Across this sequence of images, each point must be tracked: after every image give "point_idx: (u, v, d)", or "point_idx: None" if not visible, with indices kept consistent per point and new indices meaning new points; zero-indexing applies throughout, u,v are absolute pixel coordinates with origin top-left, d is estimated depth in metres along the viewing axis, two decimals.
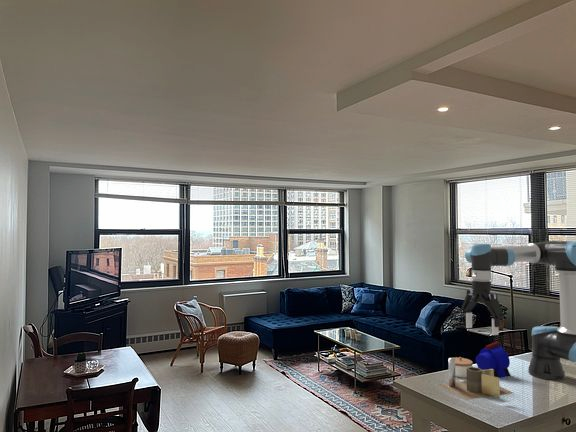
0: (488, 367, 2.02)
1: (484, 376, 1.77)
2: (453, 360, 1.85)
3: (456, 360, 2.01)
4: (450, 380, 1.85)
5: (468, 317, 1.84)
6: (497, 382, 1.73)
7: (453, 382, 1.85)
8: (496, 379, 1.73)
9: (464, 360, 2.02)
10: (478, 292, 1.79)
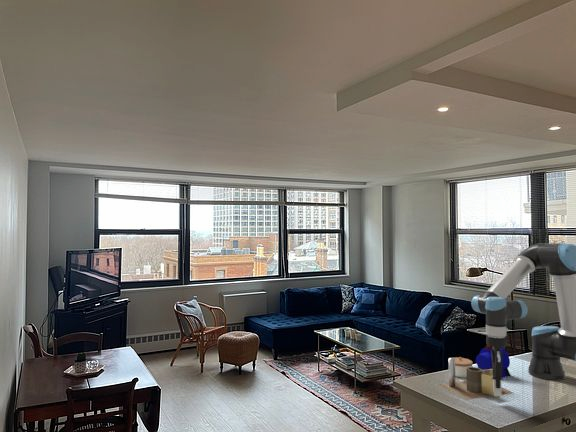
0: (488, 367, 2.02)
1: (484, 376, 1.77)
2: (453, 360, 1.85)
3: (456, 360, 2.01)
4: (450, 380, 1.85)
5: None
6: None
7: (453, 382, 1.85)
8: None
9: (464, 360, 2.02)
10: None
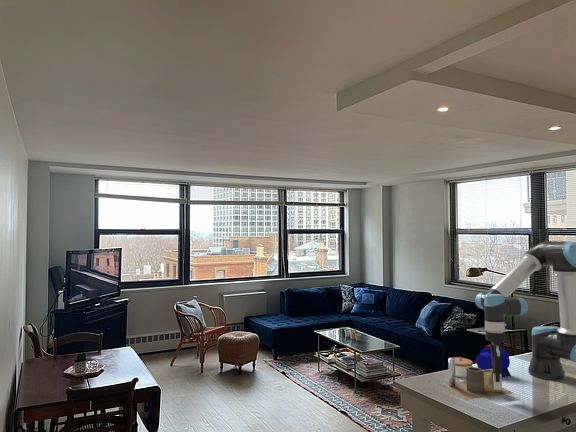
0: (488, 367, 2.02)
1: (487, 374, 1.79)
2: (453, 360, 1.85)
3: (456, 360, 2.01)
4: (450, 380, 1.85)
5: None
6: None
7: (453, 382, 1.85)
8: None
9: (464, 360, 2.02)
10: None
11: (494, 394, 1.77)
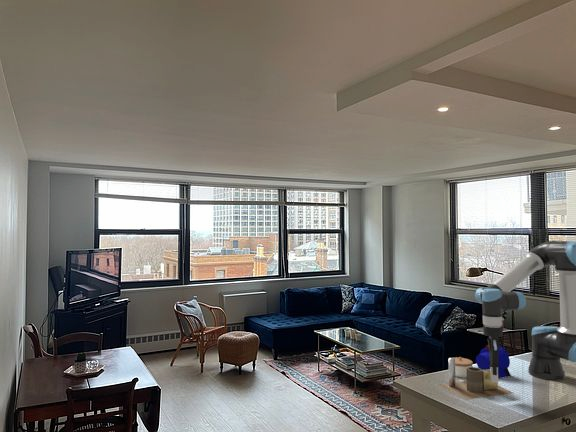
0: (488, 367, 2.02)
1: (486, 373, 1.81)
2: (453, 360, 1.85)
3: (456, 360, 2.01)
4: (450, 380, 1.85)
5: None
6: None
7: (453, 382, 1.85)
8: None
9: (464, 360, 2.02)
10: None
11: (494, 394, 1.77)
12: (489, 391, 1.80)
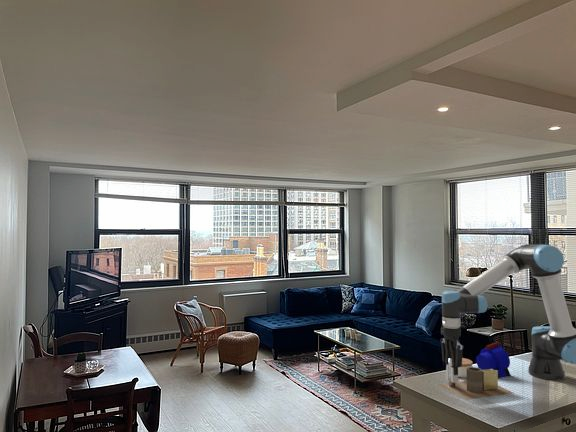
0: (488, 367, 2.02)
1: (486, 373, 1.81)
2: None
3: None
4: (450, 380, 1.85)
5: None
6: (496, 374, 1.82)
7: (453, 382, 1.85)
8: (495, 372, 1.82)
9: (464, 360, 2.02)
10: (448, 338, 1.87)
11: (494, 394, 1.77)
12: (489, 391, 1.80)
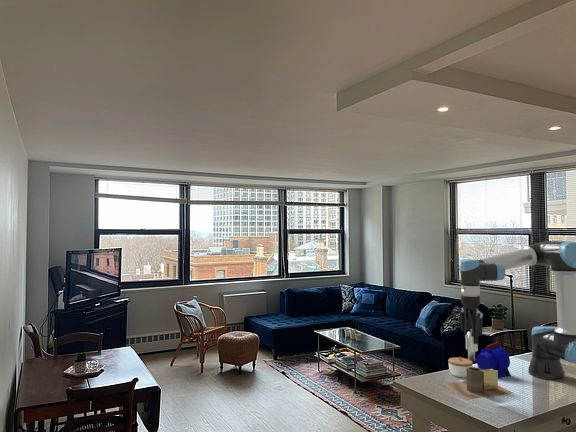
0: (488, 367, 2.02)
1: (486, 373, 1.81)
2: None
3: (456, 360, 2.01)
4: (469, 353, 1.81)
5: None
6: (496, 374, 1.82)
7: (473, 355, 1.81)
8: (495, 372, 1.82)
9: (464, 360, 2.02)
10: (467, 307, 1.83)
11: (494, 394, 1.77)
12: (489, 391, 1.80)
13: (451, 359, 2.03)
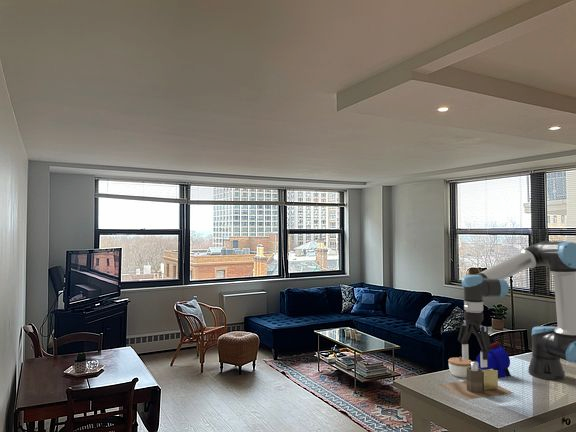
0: (488, 367, 2.02)
1: (486, 373, 1.81)
2: (476, 364, 1.79)
3: (456, 360, 2.01)
4: None
5: (464, 349, 1.86)
6: (496, 374, 1.82)
7: None
8: (495, 372, 1.82)
9: (464, 360, 2.02)
10: (470, 322, 1.82)
11: (494, 394, 1.77)
12: (489, 391, 1.80)
13: (451, 359, 2.03)
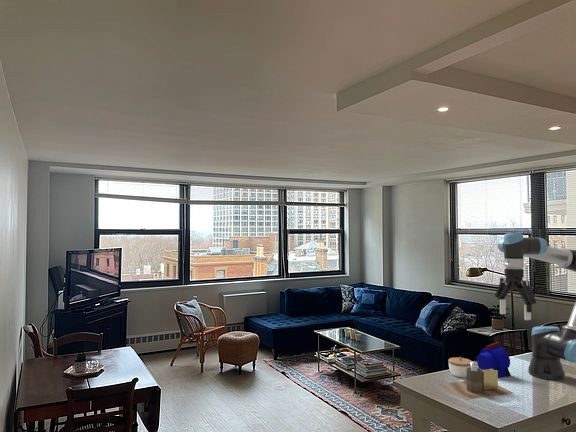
0: (489, 367, 2.02)
1: (486, 373, 1.81)
2: (476, 364, 1.80)
3: (456, 360, 2.01)
4: None
5: (502, 304, 1.92)
6: (496, 374, 1.82)
7: None
8: (495, 372, 1.82)
9: (464, 360, 2.02)
10: (511, 279, 1.87)
11: (494, 394, 1.77)
12: (489, 391, 1.80)
13: (451, 359, 2.03)
